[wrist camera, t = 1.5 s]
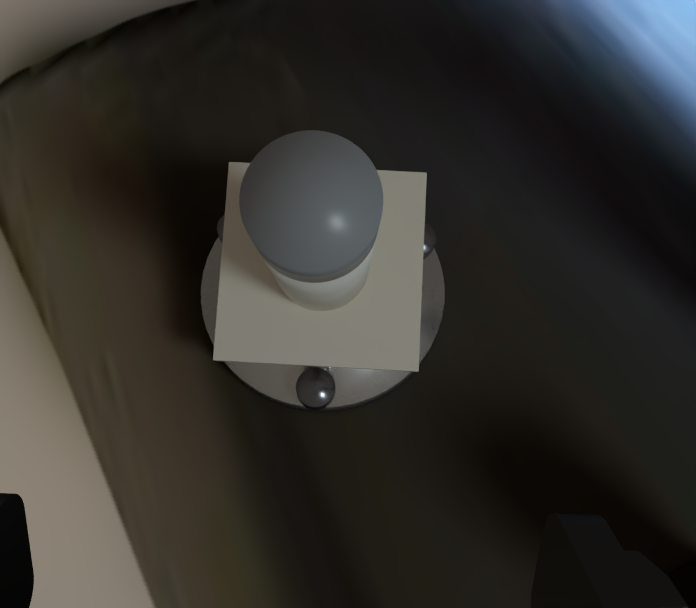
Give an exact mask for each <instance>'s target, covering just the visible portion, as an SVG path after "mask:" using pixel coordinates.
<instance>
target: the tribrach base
mask: <svg viewBox="0 0 696 608" xmlns="http://www.w3.org/2000/svg"><path fill="white" fill-rule="evenodd" d="M224 218H225V215H224V216H222V217H221V218H220V220H219V222H218V224H217V232H218V235H219V237H218V238H217V240H216V241H215V243H214V245H213V247H212V249H211V251H210V253H209V256H208V258H207V261H206V265H205V268H204V271H203V277H202V284H201V305H202V313H203V318H204V322H205V325H206V329H207V332H208V334H209V336H210V338H211V341H212V343H213V345H214V341H215V329H216V317H217V304H218V292H219V280H220V267H221V255H222V243H223V230H224ZM435 242H436V235H435V232H434V230H433V229H432V228H431V227H430V226H429V225H427V224H426V223H425V226H424V251H423V275H422V300H421V325H420V349H419V365H420V364H421V362H422V361H423V359H424V358H425V356H426V355H427V353H428V351H429V349H430V347H431V345H432V343H433V341H434V338H435V336H436V334H437V332H438V329H439V326H440V322H441V319H442V315H443V308H444V291H445V287H444V280H443V273H442V269H441V265H440V262H439V258H438V256H437V254H436V252H435V249H434V245H435ZM223 362H224V363H225V365H226V366H227V367H228V368H229V369H230V371H231V372H232V373H233V374H234V375H235V376H236V377H237V378H238V379H239V380H240V381H241V382H242V383H243V384H244V385H246V386H247V387H248V388H250V389H251V390H253V391H254V392H256V393H257V394H258V395H260V396H262V397H264V398H266V399H268V400H270V401H272V402H274V403H277V404H280V405H283V406H286V407H289V408H293V409H298V410H303V411H312V412H333V411H342V410H347V409H352V408H356V407H359V406H362V405H365V404H368V403H371V402H373V401H375V400H377V399H379V398H381V397H383V396H385V395H387V394H388V393H390V392H391V391H393V390H394V389H396V388H397V387H398V386H400V385H401V384H402V383H403V382H404V381H405V380H406V379H408V378H409V377H410V376H411V375H412V373H413V372H409V371H391V370H373V369H354V368H336V367H318V366H300V365H282V364H264V363H246V362H227V361H223Z"/></svg>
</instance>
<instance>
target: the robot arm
mask: <svg viewBox="0 0 696 608" xmlns="http://www.w3.org/2000/svg"><path fill="white" fill-rule="evenodd" d="M33 584H34V574H33V566H32V559H31V552H30V544H29V537H28V530H27V523H26V515H25V508H24V503H23V501H22V498H21V497H20V496H19V495H18V494H7V493H0V608H29V606H30V602H31V598H32V592H33ZM531 608H688V606H687V604H686V602H685V601H684V599H683V598H682V596H681V595H680V593H679V592H678V590H677V589H676V587H675V586H674V584H673V583H672V581H671V580H670V578H669V577H668V576H667V575H666V574H665V573H664V572H663V571H661V570H660V569H659V568H658V567H657V566H655V565H654V564H653V563H652V562H651V561H650V560H648V559H647V558H646V557H645V556H644V555H643V554H641V553H640V552H639V551H629V550H623V548H622V547H621V545H620V543H619V542H618V540H617V538H616V537H615V535H614V533H613V532H612V530H611V528H610V527H609V525H608V523H607V522H606V520H605V519H604V518H603V517H602V516H600V515H592V514H562V513H551V514H549V515H548V517H547V519H546V521H545V525H544V530H543V535H542V540H541V546H540V551H539V556H538V561H537V566H536V571H535V576H534V581H533V586H532V593H531Z"/></svg>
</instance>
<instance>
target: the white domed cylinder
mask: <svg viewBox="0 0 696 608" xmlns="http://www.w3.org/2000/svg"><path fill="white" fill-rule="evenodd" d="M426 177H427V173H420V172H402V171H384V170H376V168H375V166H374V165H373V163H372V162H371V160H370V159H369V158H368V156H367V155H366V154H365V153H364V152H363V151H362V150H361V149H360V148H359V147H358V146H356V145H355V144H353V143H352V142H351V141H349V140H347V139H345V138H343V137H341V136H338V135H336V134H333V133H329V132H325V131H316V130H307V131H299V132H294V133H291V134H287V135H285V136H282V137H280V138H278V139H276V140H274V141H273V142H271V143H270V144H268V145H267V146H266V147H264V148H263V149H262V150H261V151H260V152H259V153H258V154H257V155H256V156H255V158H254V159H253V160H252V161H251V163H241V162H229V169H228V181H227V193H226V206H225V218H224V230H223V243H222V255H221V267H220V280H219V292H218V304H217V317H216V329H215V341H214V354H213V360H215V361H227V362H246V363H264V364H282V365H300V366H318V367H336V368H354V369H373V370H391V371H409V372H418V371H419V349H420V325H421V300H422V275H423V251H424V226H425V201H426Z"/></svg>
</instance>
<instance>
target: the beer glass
mask: <svg viewBox="0 0 696 608" xmlns="http://www.w3.org/2000/svg"><path fill="white" fill-rule="evenodd" d="M669 578H670V580H671V581H672V583H673V584H674V586H675V587H676V589H677V590H678V592H679V593H680V595H681V596H682V598H683V599H684V601H685V602H686V604H687V606H688V608H696V561H692V562H689V563H687V564H684V565H683V566H681V567H679V568H678V569H677V570H676V571H674V572H673V574H672V575H671V576H670V577H669Z"/></svg>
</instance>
